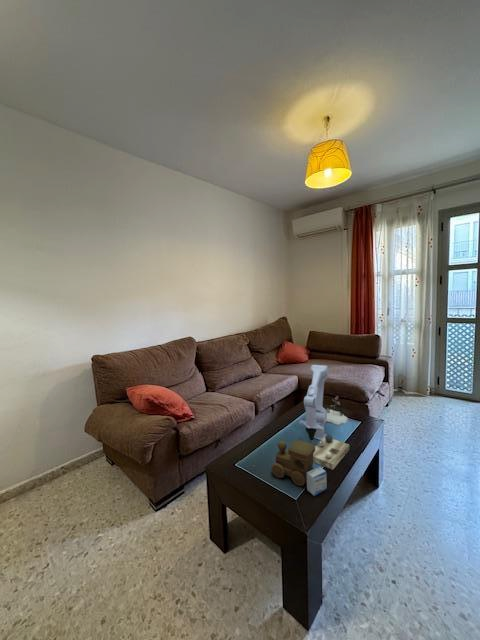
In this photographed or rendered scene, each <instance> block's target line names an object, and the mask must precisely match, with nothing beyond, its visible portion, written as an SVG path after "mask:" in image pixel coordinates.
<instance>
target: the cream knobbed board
mask: <svg viewBox="0 0 480 640" xmlns="http://www.w3.org/2000/svg"><path fill="white" fill-rule="evenodd" d="M321 441H323V442H324V445H323V446H322V447H320V446H319V445H318V443H317V444H316V445H315V452H314V453H313V463H315V464H318V465H320V466H322V467H324V468H327V469H330V470H332V471H333V470H334V469H335V468H336V467H337V466H338V464H339V463H340V462H341V460H343V458H344V457H345V456H346V455H347V453H349V451H350V443H349V444H348V443H346V442H343V441H340V440H337V439H334V438H333V440H332V441H331V442H327V441H326V439H325V437H324V438H323V439H322V440H321ZM327 451H329V452H330V453H331V457H330V458H327V457H326V455H325V453H326V452H327ZM345 454H346V455H345Z"/></svg>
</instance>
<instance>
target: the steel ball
mask: <svg viewBox="0 0 480 640" xmlns="http://www.w3.org/2000/svg"><path fill="white" fill-rule="evenodd" d="M317 444H318V445H319V446H320V447H322V446H323V445H324V442H323V441H321V440H318V441H317Z"/></svg>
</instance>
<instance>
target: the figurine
mask: <svg viewBox="0 0 480 640" xmlns="http://www.w3.org/2000/svg"><path fill="white" fill-rule="evenodd" d="M338 399H339V396H335V397H334V398H332V399H331V400H332V402H334V405H330V407H331V408H332V407H334V408H333V409H331V408H329V406H327V407H326V409H325V410H326V411H327V420H326V422H327V423H331V424H333V425H341V424H345V423H348V421H349V419H348V417H347V416H346V415H344V413H343V411H342V409H339V410H338V411H336V410H335V408H336V406H337V405H339V406H341V403H340V401H337V400H338ZM319 412H322V411H319Z"/></svg>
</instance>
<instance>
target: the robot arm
mask: <svg viewBox="0 0 480 640" xmlns="http://www.w3.org/2000/svg"><path fill="white" fill-rule="evenodd" d="M310 373H311V375H312V379H311V384H310V385H308V389H307V393H306V395H305V396H304V398H303V405H304V410H305V420H302V419H300V420H299V421H298V422H299V423H298V424H299V425H300V426H305V432H306V433H307V436H308V438H309V441H314V440H315V439H317V440H318V441H320V440H322V439H323V438H324V437H325V436H326V435H328V434H327V433H325V423H326V422H327V421H326V420H327V411H326V410H327V409H326V408H324V407H323V403H324V388H325V382H326V380H328V378H329V367H328V365H324V364H322V365H321V364H312V365H310ZM320 411H322V412H320Z"/></svg>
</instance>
